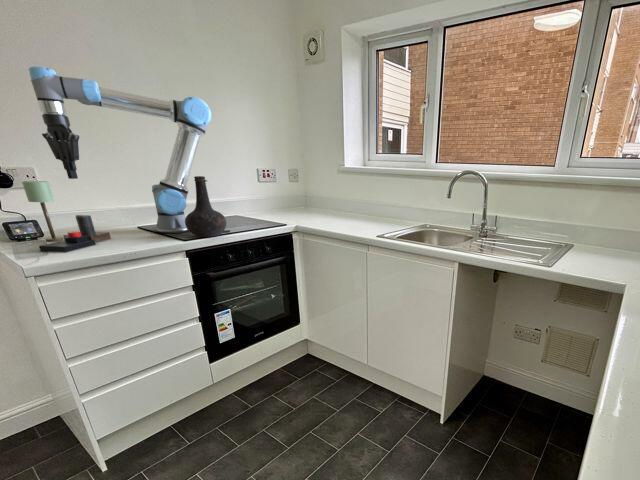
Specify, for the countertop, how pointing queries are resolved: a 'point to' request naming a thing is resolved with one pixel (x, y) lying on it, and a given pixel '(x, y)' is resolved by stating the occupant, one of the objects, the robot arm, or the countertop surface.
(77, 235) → the power button
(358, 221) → the countertop surface
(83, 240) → the lamp base
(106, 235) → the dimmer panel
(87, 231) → the dark grey tall block
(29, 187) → the lamp
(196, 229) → the glass bottle
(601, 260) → the countertop surface
